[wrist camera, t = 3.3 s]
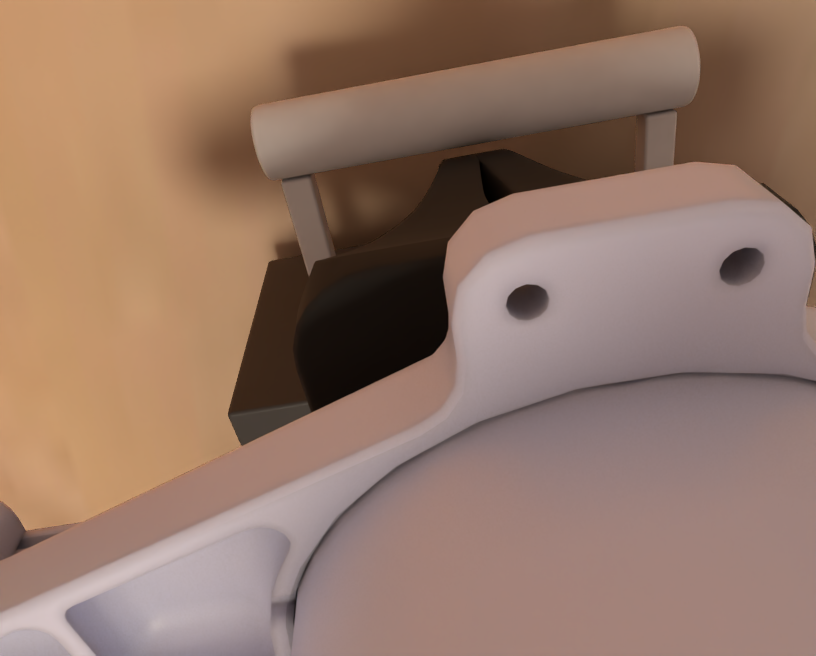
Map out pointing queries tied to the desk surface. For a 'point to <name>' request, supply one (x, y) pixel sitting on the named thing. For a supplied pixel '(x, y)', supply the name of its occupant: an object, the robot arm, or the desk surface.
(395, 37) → the desk surface
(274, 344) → the black drawer
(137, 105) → the desk surface
